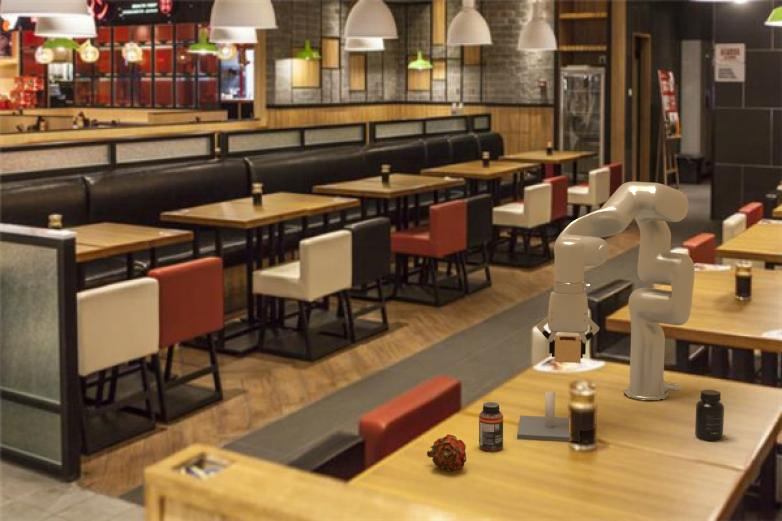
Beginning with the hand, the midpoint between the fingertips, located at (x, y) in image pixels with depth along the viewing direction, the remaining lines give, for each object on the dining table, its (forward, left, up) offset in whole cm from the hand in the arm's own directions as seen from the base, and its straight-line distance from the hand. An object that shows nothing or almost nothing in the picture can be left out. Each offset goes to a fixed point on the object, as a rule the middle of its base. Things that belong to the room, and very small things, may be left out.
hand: (567, 356), depth 259 cm
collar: (0, 0, -1) cm, 1 cm away
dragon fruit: (+27, +31, -20) cm, 46 cm away
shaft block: (+4, 0, -20) cm, 20 cm away
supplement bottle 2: (-36, -1, -20) cm, 41 cm away
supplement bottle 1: (+18, +16, -20) cm, 32 cm away
